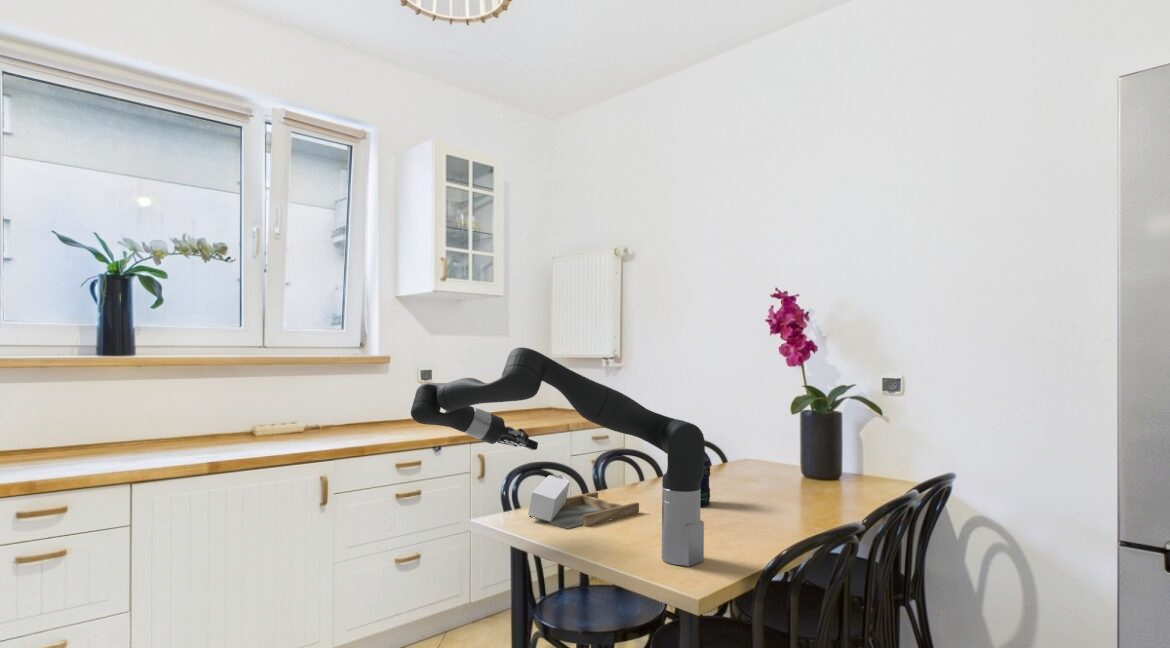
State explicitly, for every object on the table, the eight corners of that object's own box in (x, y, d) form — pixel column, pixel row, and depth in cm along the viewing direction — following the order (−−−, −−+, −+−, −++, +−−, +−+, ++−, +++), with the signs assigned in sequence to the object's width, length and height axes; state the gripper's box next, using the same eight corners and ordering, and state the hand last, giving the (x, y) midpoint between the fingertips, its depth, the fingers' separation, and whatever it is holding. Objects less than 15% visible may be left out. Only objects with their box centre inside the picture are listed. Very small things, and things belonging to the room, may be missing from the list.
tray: (638, 512, 192) (639, 503, 192) (569, 530, 172) (570, 519, 172) (595, 501, 206) (595, 491, 206) (527, 515, 186) (527, 505, 186)
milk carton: (550, 522, 178) (569, 498, 197) (555, 499, 177) (573, 477, 196) (527, 514, 180) (548, 491, 198) (532, 492, 179) (552, 470, 197)
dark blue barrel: (677, 506, 201) (678, 459, 201) (681, 499, 210) (682, 455, 211) (708, 508, 198) (709, 461, 198) (711, 501, 207) (711, 456, 208)
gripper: (498, 408, 162) (551, 431, 170) (476, 415, 173) (527, 436, 180) (490, 435, 159) (545, 457, 167) (468, 441, 169) (521, 461, 177)
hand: (536, 446), depth 174 cm, fingers closed
